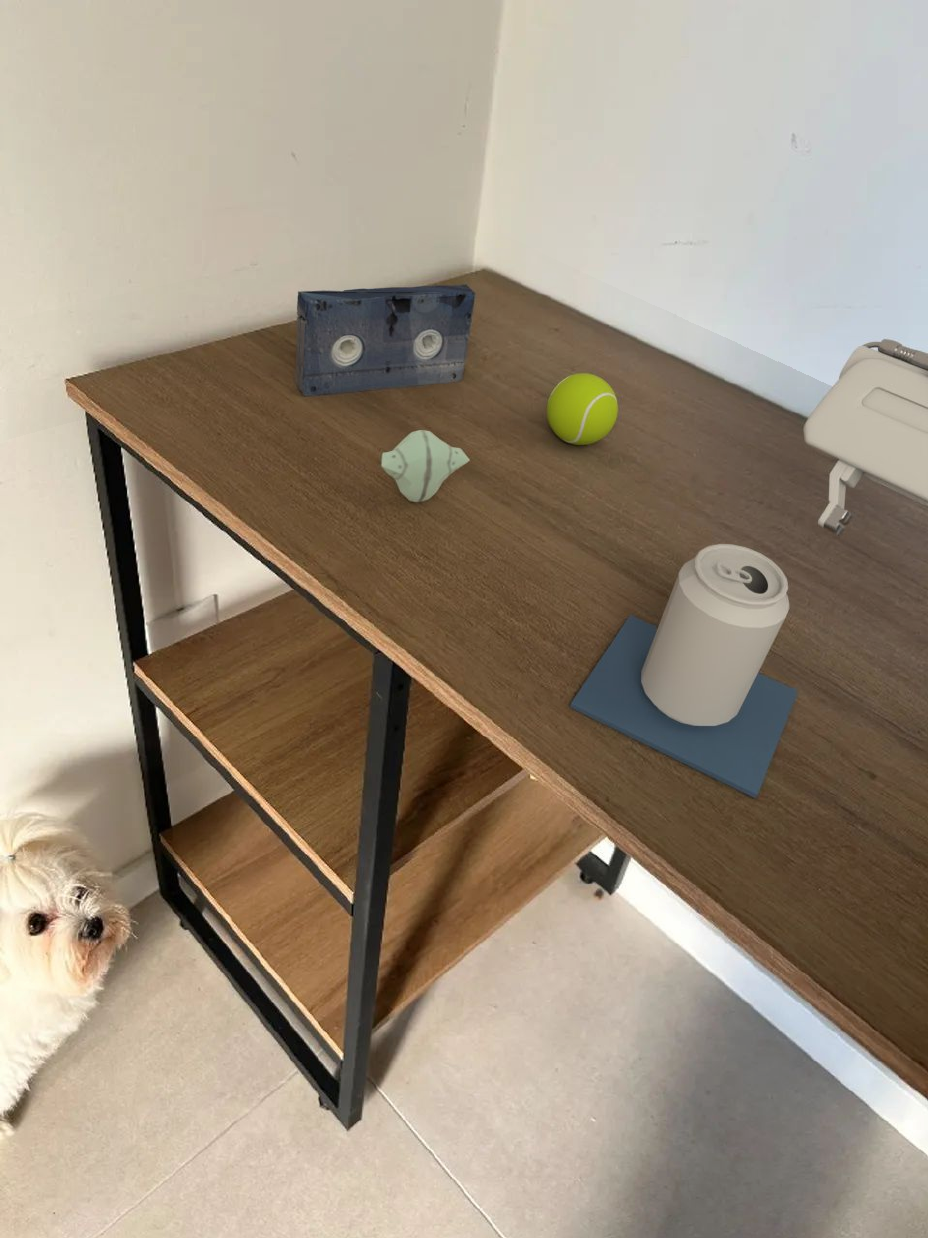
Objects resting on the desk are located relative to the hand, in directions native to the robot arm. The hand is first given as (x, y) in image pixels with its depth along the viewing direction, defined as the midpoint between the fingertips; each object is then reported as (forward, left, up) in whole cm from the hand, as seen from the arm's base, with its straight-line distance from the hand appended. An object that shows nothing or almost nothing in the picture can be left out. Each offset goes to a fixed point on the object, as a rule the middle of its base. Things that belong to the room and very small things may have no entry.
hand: (886, 561), depth 65 cm
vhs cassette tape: (+51, -16, -12) cm, 55 cm away
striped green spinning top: (+37, 0, -12) cm, 39 cm away
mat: (+8, +9, -12) cm, 17 cm away
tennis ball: (+30, -20, -12) cm, 38 cm away
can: (+8, +9, -11) cm, 17 cm away
